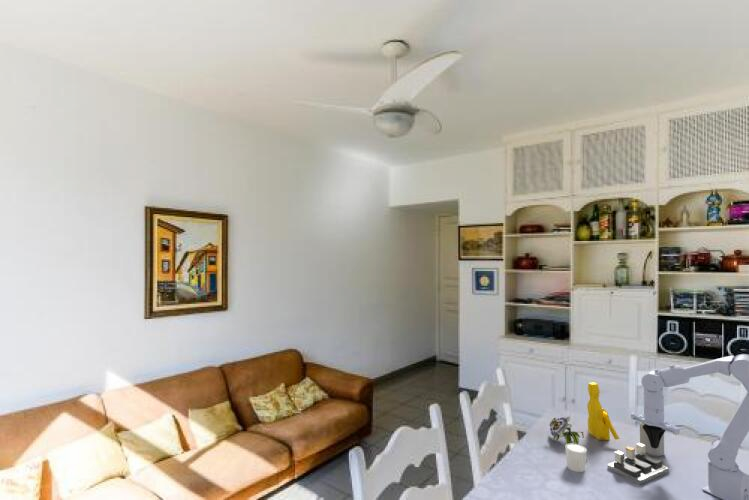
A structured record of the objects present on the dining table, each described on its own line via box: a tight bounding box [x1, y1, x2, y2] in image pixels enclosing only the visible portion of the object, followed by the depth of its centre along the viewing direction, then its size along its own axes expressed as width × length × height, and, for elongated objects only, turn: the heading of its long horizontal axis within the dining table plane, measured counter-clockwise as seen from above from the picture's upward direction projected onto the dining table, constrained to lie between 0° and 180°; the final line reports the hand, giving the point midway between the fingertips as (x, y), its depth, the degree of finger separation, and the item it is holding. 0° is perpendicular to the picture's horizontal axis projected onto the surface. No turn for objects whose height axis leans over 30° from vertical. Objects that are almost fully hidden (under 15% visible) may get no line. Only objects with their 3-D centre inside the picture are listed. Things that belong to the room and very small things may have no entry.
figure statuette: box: [586, 382, 620, 441], centre depth 163 cm, size 18×8×22 cm, turn 6°
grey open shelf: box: [607, 442, 670, 486], centre depth 139 cm, size 11×16×6 cm
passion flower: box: [549, 416, 585, 444], centre depth 160 cm, size 11×11×12 cm
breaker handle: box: [625, 446, 636, 460], centre depth 141 cm, size 2×2×3 cm
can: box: [639, 421, 665, 457], centre depth 151 cm, size 8×8×12 cm
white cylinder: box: [564, 442, 588, 473], centre depth 141 cm, size 7×7×7 cm
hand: (654, 447), depth 138 cm, fingers closed
